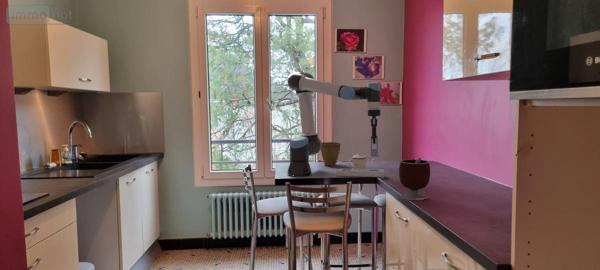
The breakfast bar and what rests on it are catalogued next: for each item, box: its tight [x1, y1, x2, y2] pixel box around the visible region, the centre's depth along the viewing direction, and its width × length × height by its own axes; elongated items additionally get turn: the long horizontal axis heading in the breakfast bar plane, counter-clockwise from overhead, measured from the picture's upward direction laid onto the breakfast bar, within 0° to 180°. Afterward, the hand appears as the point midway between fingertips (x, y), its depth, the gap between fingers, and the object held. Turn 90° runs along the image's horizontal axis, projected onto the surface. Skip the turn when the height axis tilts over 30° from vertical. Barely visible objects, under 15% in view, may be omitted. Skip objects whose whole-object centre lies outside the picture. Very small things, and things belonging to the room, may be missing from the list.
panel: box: [335, 167, 385, 180], centre depth 226 cm, size 28×9×4 cm, turn 78°
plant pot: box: [320, 141, 342, 167], centre depth 269 cm, size 15×15×16 cm
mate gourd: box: [398, 157, 431, 201], centre depth 173 cm, size 16×14×20 cm
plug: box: [370, 135, 379, 158], centre depth 223 cm, size 4×4×13 cm
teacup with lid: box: [347, 152, 367, 169], centre depth 246 cm, size 12×9×12 cm
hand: (374, 148), depth 223 cm, fingers closed on plug, 4 cm apart
